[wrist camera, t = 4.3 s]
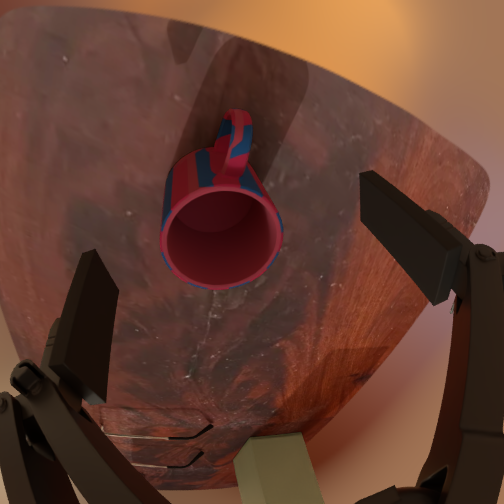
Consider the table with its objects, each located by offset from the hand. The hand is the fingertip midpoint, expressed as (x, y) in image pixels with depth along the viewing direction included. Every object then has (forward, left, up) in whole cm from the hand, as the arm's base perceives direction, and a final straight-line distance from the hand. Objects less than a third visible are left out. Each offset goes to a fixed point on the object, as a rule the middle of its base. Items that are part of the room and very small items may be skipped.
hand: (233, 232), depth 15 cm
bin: (+6, +55, -9) cm, 56 cm away
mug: (0, 0, -9) cm, 9 cm away
